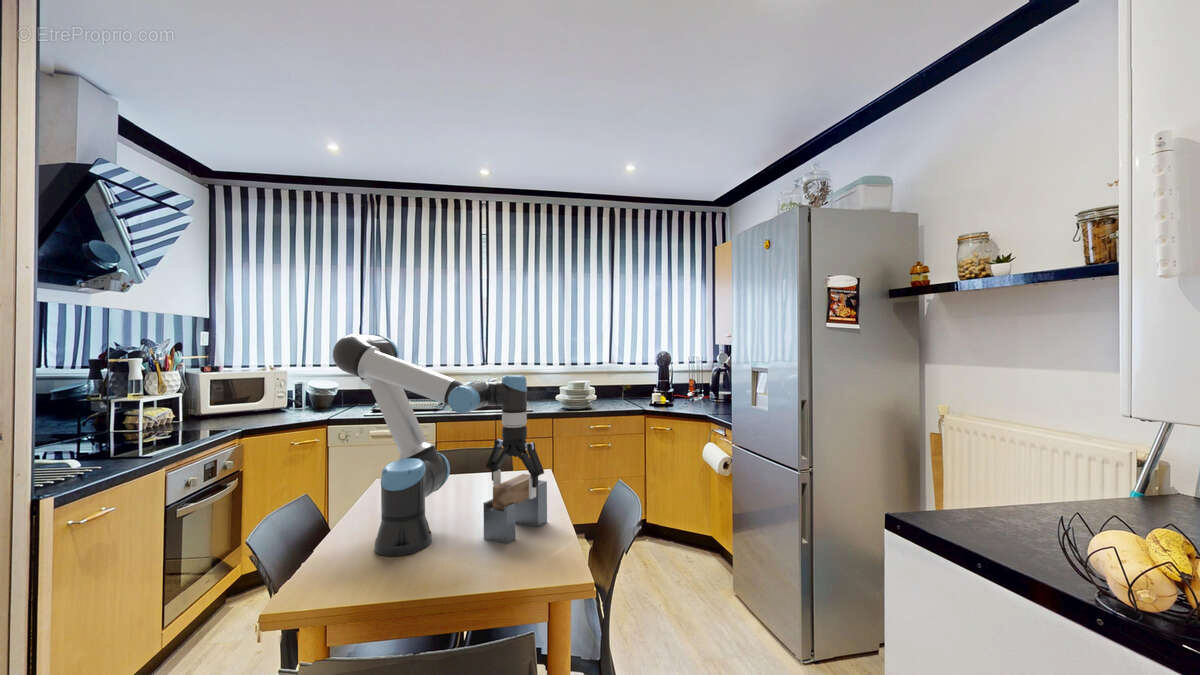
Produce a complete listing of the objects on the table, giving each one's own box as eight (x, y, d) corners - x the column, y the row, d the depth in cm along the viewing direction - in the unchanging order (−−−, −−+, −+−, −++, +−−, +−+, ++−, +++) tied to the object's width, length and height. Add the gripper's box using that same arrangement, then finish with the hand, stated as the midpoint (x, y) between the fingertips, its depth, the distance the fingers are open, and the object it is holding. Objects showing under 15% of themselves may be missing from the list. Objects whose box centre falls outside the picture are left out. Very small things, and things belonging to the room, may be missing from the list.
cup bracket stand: (481, 538, 143) (481, 493, 143) (521, 517, 160) (521, 477, 160) (508, 544, 138) (508, 498, 139) (547, 522, 156) (546, 481, 156)
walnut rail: (492, 507, 143) (492, 487, 143) (522, 492, 158) (522, 473, 158) (507, 509, 141) (507, 489, 141) (536, 494, 156) (536, 475, 156)
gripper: (555, 426, 147) (555, 497, 147) (490, 420, 159) (490, 486, 158) (541, 430, 141) (541, 504, 140) (475, 424, 152) (474, 492, 152)
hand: (514, 494), depth 149 cm, fingers open, 13 cm apart
